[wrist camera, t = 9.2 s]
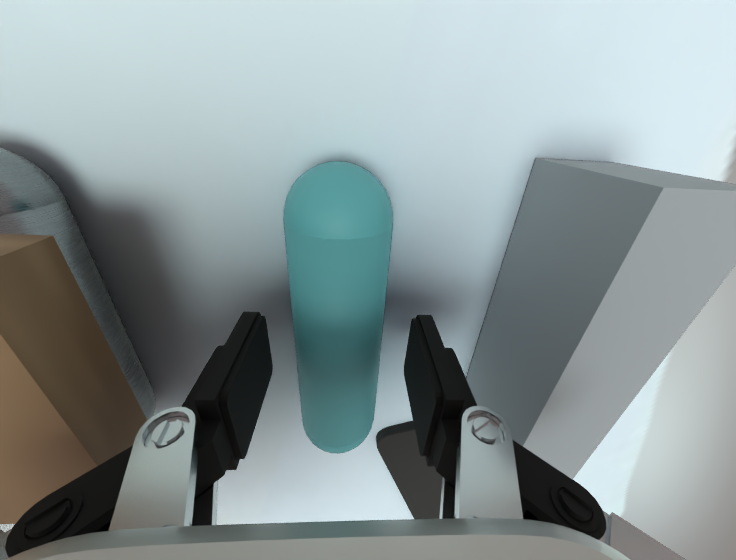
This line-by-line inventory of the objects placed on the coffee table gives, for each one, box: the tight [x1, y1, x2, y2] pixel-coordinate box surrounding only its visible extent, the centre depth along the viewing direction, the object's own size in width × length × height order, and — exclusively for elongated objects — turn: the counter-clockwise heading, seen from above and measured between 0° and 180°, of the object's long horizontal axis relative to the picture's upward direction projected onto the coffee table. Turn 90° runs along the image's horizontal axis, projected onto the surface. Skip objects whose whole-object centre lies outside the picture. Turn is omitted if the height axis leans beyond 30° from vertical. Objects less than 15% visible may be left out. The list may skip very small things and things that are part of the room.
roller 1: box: [0, 148, 155, 421], centre depth 11 cm, size 4×14×4 cm, turn 177°
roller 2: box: [283, 161, 393, 453], centre depth 12 cm, size 14×4×4 cm, turn 177°
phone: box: [376, 421, 443, 519], centre depth 21 cm, size 7×1×15 cm
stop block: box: [466, 158, 736, 479], centre depth 12 cm, size 3×14×5 cm, turn 177°
